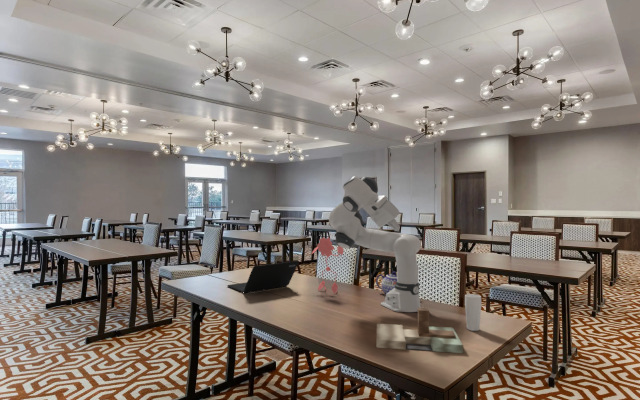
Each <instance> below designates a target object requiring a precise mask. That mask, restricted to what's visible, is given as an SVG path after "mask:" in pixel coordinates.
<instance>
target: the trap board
mask: <svg viewBox="0 0 640 400" xmlns="http://www.w3.org/2000/svg"><path fill="white" fill-rule="evenodd" d="M429 329H430V330H447V331H453V332H454V334H455V336H456V338H440V337H423V336H419V335H418V331H417V329H407V328H404V326H403V324H395V323H394V324H393V323H376V346H375V347H376V348H379V349H396V350H408V351H409V350H410V351H422V352H423V351H426V352H439V353H440V352H443V353H454V354H464V344H463V343H462V341H461V339H460V337H459V336H458V334H457V332H456V330H455V329H454V327H450V326H449V327H446V326H430V325H429Z"/></svg>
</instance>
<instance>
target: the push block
mask: <svg viewBox="0 0 640 400" xmlns="http://www.w3.org/2000/svg"><path fill="white" fill-rule="evenodd" d="M429 326H430V310H429V308H428V307H421V308H418V312H417V329H416V330H417V331H418V335H419V336H423V337H440V338H456V336H455V334H454V332H453V331H447V330H430V329H429Z"/></svg>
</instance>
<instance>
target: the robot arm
mask: <svg viewBox="0 0 640 400" xmlns="http://www.w3.org/2000/svg"><path fill="white" fill-rule="evenodd" d="M378 187H379V186H378V183H377V182H376V180H375V179H374V178H372V177H369V176H363V177H362V176H361V178H360V177H358V176H355V175H353V176H351V177H350V178H349V179H348V180H346V182H344V184H343V186H342V188H343V190H344V196H343V198H342V202H341V203H339V204H338V205H337V206H335V207H333V209H332V210H331V212H330V213H329V214H330V215H329V217H328V218H329V219H328V223H329V225H330V227H331V228H333V229H334V230H335V231H336V233H334V237H335V243H336V245H337V246H340V247H342V248H343V249H352V248H353V246H354V245H355V244H356V245H357V246H361V247H363V248H365V249H366V248H367V249H370V250H375V251H379V252H380V251H381V252H384V253H394V257H395V261H396V262H395V263H396V274H397V282H393V283H394V284H395V287H394V289H392V290H391V291H390V292H388V293H387V294H385V298H384V301H382V302H380V305H381V306H383V307H385V308H387V309H389V310H391V311H392V312H393V311H394V312H397V313H398V312H399V313H400V312H404V313H416V312H417V313H418V308H422V307H421V306H422V305H421V301H420V300H421V299H420V293H419V291H420V283H419V265H418V261H417V253H419V252H420V250H421V246H422V245H421V244H422V243H421V240H420V238H419V237H417V236H416V235H414V234H410V233H409V234H408V233H403V232H391V231H386V230H380V229H375V228H374V229H373V228H367V227H364V226H363V225H364V224H365V221H364V219H363V216H362V214H361V213H360V212H359V211H360V210H362V209H363V211H365V212H366V213H367V215H369V216H370V219H371V220H372V221H373V222H374V224H376V226H377V227H378V228H379V227H380V228H383V227H384V226H386V225H387V226H389V227H391V228H392V229H393V230H395V231H396V230H398V229H400V227H401V225H400V224H399V223H398V222H397V220H396V218H397V217H398V216H399V215H400V214H401V213H400V209H398V207H396V206H395V204H393V203H392V201H390V200H388V199H389V198H388V196H387V195H379V194H378V192H379V188H378Z"/></svg>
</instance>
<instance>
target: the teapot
mask: <svg viewBox="0 0 640 400" xmlns="http://www.w3.org/2000/svg"><path fill="white" fill-rule="evenodd" d="M380 277H381V278H382V281H381V286H380V284H379V278H380ZM393 282H397V271H394V270H393V271H392V272H391V273H390V274H386V275H385V276H384V275H383V274H382V273H380V274H378V275H377V276H376V278H375V283H376V286H377V288H379V289H380V290H382V292H383V294H385V295H386V294H387V293H388V292H390V291H391V290H392V289H394V287H395V284H394V283H393Z"/></svg>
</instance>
